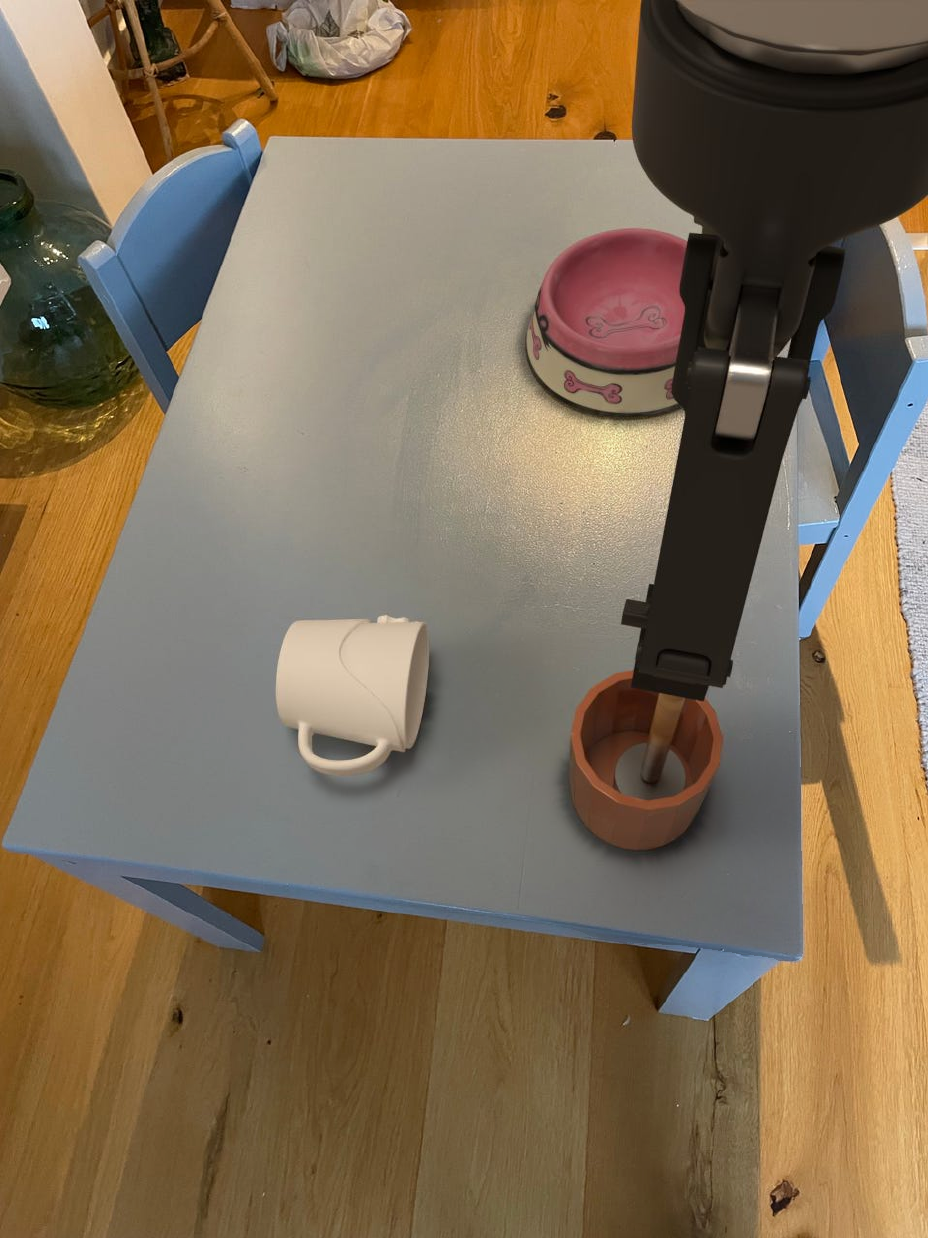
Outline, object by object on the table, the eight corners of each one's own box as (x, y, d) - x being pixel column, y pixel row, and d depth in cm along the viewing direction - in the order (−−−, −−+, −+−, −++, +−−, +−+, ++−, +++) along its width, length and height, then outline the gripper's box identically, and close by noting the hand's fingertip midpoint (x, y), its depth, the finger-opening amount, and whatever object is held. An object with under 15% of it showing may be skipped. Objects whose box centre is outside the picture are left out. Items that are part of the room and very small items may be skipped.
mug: (319, 640, 74) (294, 591, 67) (434, 649, 73) (421, 600, 66) (286, 784, 69) (255, 746, 62) (409, 797, 68) (392, 760, 61)
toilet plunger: (666, 748, 67) (709, 607, 49) (691, 810, 65) (745, 687, 46) (603, 766, 67) (621, 631, 48) (625, 829, 65) (653, 714, 46)
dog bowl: (513, 287, 91) (510, 228, 85) (702, 260, 91) (713, 199, 85) (540, 433, 82) (538, 379, 76) (749, 404, 82) (764, 348, 76)
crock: (708, 740, 68) (730, 684, 59) (690, 863, 64) (711, 823, 55) (583, 715, 69) (587, 657, 61) (558, 833, 65) (558, 790, 57)
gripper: (719, -292, 25) (650, 305, 44) (513, 409, 14) (538, 807, 33) (1016, -295, 24) (814, 324, 43) (1038, 483, 13) (754, 856, 32)
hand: (693, 536), depth 38 cm, fingers open, 13 cm apart
